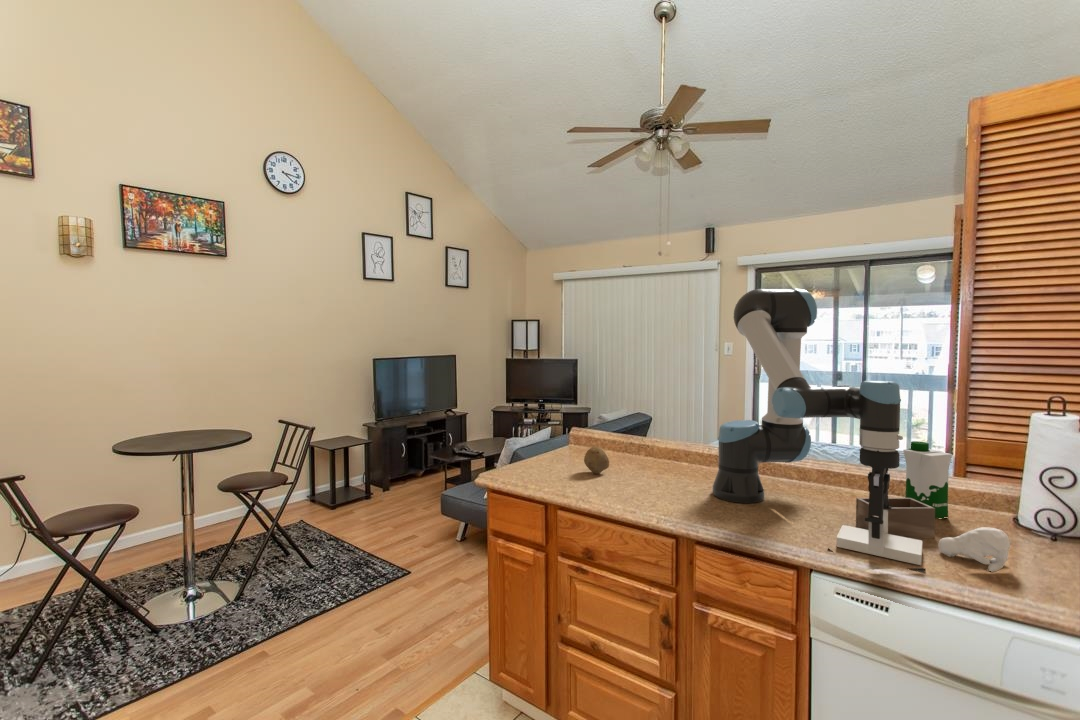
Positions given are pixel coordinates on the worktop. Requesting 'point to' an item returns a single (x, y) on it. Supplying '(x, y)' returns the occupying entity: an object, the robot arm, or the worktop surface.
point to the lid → (893, 544)
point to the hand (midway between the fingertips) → (878, 543)
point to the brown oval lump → (596, 460)
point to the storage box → (902, 517)
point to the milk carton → (928, 476)
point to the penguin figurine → (979, 546)
